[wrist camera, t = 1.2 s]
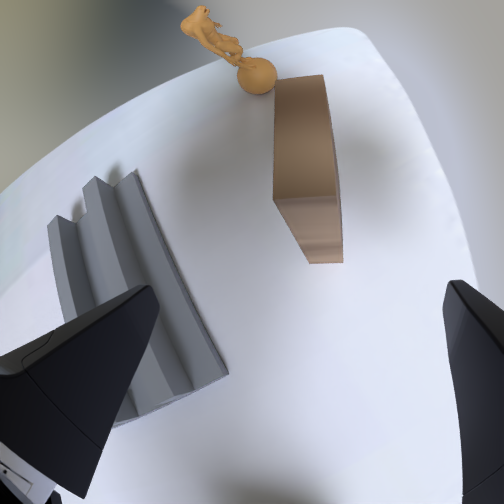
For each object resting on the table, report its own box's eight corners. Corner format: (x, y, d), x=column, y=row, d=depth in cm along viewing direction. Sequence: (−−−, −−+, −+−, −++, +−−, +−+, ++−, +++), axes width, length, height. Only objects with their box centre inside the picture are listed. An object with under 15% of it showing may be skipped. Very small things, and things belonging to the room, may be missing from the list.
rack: (229, 374, 21) (205, 380, 18) (114, 427, 23) (85, 435, 19) (137, 176, 30) (114, 158, 26) (59, 249, 32) (35, 239, 28)
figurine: (293, 106, 26) (256, 3, 15) (235, 129, 27) (176, 36, 16) (269, 62, 29) (232, -22, 18) (220, 82, 30) (171, 3, 19)
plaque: (343, 262, 21) (336, 195, 11) (309, 263, 22) (272, 199, 12) (338, 177, 23) (322, 74, 13) (308, 179, 24) (274, 80, 14)
